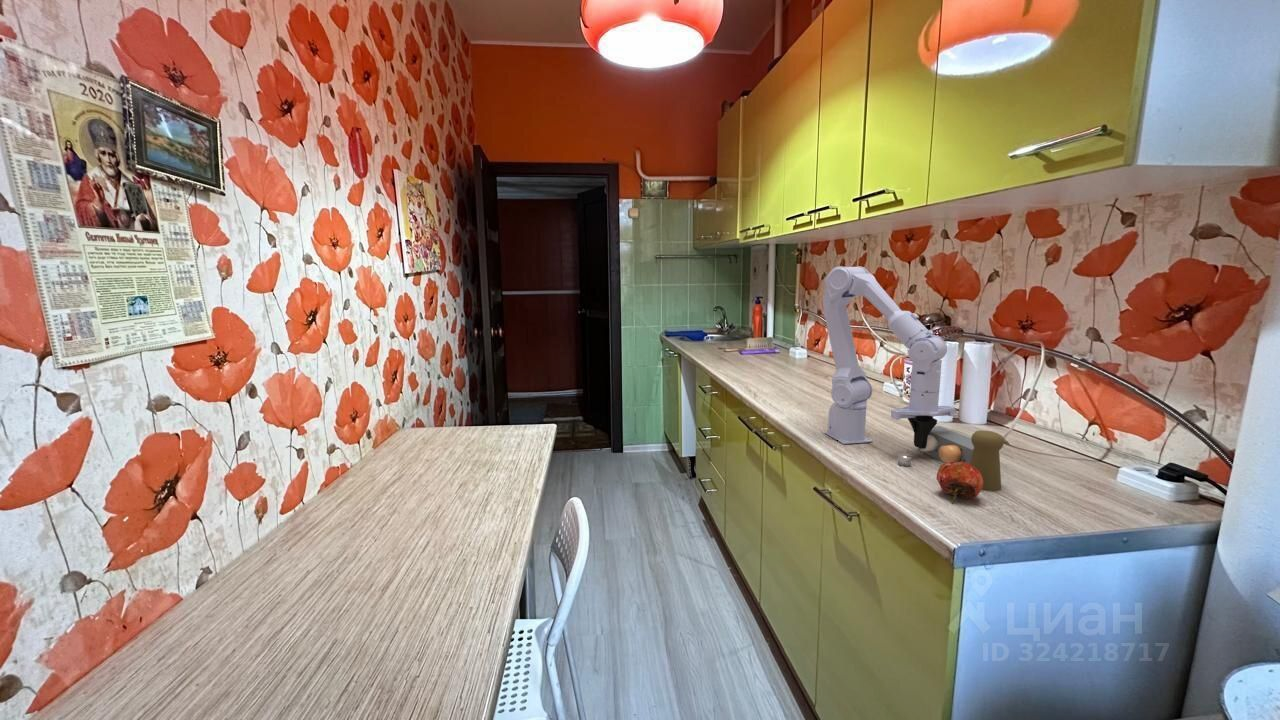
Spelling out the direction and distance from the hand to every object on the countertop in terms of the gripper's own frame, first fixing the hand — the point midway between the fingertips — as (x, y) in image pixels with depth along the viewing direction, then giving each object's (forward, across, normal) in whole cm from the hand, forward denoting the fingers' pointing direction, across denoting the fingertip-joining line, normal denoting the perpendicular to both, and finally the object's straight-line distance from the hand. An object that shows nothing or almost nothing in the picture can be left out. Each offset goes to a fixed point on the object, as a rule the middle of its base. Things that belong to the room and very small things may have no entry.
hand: (920, 447), depth 113 cm
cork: (+3, +2, -16) cm, 16 cm away
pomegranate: (+3, -7, -20) cm, 21 cm away
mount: (+2, +6, -4) cm, 7 cm away
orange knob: (+1, +5, -7) cm, 9 cm away
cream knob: (+1, +5, 0) cm, 5 cm away
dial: (+2, -6, -4) cm, 8 cm away
